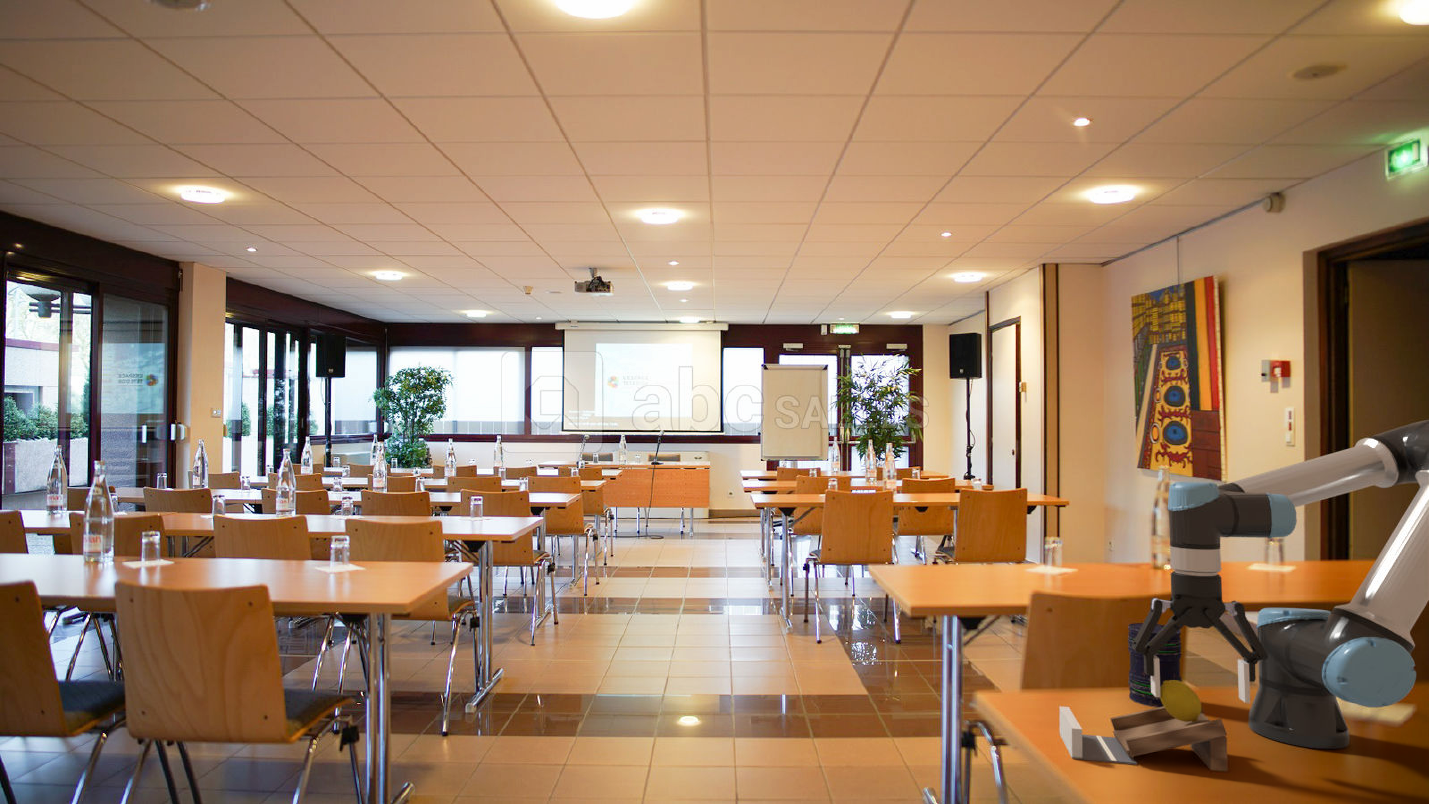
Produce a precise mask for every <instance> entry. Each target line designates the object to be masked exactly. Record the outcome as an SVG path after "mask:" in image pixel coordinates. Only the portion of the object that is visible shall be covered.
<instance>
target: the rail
mask: <svg viewBox="0 0 1429 804" xmlns="http://www.w3.org/2000/svg"><path fill="white" fill-rule="evenodd" d="M1082 735H1083V728H1082V726H1081V725H1080V724H1079V721H1078V720H1077V718H1076V717H1075V715H1074V713H1073V711H1072V710H1071V709H1070V707H1069V706H1061V705H1059V736H1060V737H1061V736H1062V737H1061V740H1062V741H1063V743H1064V745H1065V748H1066V749H1067V751H1068V753H1069V756H1070V757H1071V759H1072V758H1074V759H1073V760H1082V759H1081V758H1082ZM1077 757H1078V758H1079V759H1078V758H1077ZM1075 758H1076V759H1075ZM1082 761H1083V760H1082Z"/></svg>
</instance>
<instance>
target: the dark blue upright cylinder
mask: <svg viewBox="0 0 1429 804" xmlns="http://www.w3.org/2000/svg"><path fill="white" fill-rule="evenodd" d="M1143 623H1144V622H1135V623H1134V622H1133V623H1129V624H1128V627H1127V628H1128V637H1127V643H1128V648H1127V649H1128V653H1129V670H1128V689H1129V694H1128V695H1129V699H1130V700H1131V701H1133V702H1135V703H1137V704H1140V705H1143V706H1148V707H1151V708H1152V707H1153V708H1159V707H1163V704H1162V702H1161V699H1160V697H1155V696H1154V695H1153V694H1152V693H1151V676H1148V675H1147V674H1146V673H1145V671H1144V655H1143V654H1140V653H1137V652H1136V651H1135V650H1134V649H1133V648H1132V644H1133V642H1134V640H1135V638H1136V636H1137V634H1138V632H1139V630H1140V628H1141V626H1142V624H1143ZM1165 625H1166V624H1165ZM1165 625H1164V624H1159V623H1157V625H1156V627H1155V629H1154V631H1153V632H1152V634H1151V636H1150V638H1149V640H1148V642H1147V644H1148V643H1149V642H1150V641H1151V640H1152V639H1153V638H1154V637H1155V636H1156V635H1157V633H1158V632H1159V631H1160V630H1161V629H1162V628H1163V627H1164V626H1165ZM1180 636H1181V629H1180V630H1178V631H1177V632H1176V633H1175V634H1174V635H1173V636H1172V637H1171V638H1170V640H1169V641H1168V642H1167V643H1166V644H1165V645H1164V646H1163V647H1162V648H1161V649H1160V650H1159V651H1158V652H1157V653H1156V656H1157V657H1158V658H1159V665H1160V688H1161V686H1162V685H1163V682H1164V681H1166V680H1167V681H1170V680H1177V681H1180V682H1183V681H1182V677H1181V667H1180V666H1181V661H1180V660H1181V658H1182V642H1181V640H1182V639H1181V637H1180ZM1147 644H1146V645H1147Z"/></svg>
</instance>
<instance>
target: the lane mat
mask: <svg viewBox="0 0 1429 804" xmlns="http://www.w3.org/2000/svg"><path fill="white" fill-rule="evenodd" d="M1096 736H1097V735H1092V734H1091V735H1090V734H1082V758H1081V759H1082V761H1083V760H1084V761H1091V762H1092V761H1093V762H1094V761H1095V762H1104V763H1112V762H1113V763H1115V762H1116V763H1115V764H1124V765H1135V766H1138V763H1137V761H1136V759H1135V758H1134V756H1132V757H1129V756H1128V755H1127V754H1126V752H1125V751H1124V749H1123V748H1122V746H1121V745H1120V743H1119V742H1118V741H1117V739H1116V738H1115V736H1113V737H1112V736H1102V735H1100V736H1101V737H1102V739H1103V741H1104V742H1105V744H1106V745H1107V747H1108V748H1109V750H1110V751H1111V753H1112V754H1113V756H1114V757H1115V759H1116V761H1111V759H1110V757H1109V756H1108V754H1107V753H1106V751H1105V750H1104V748H1103V746H1102V745H1101V743H1100V742H1099V740H1098V739H1097V737H1096ZM1060 737H1062V736H1060ZM1077 758H1078V757H1077ZM1071 759H1073V760H1081V759H1079V758H1078V759H1076V758H1075V759H1074V758H1072V757H1071Z"/></svg>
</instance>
